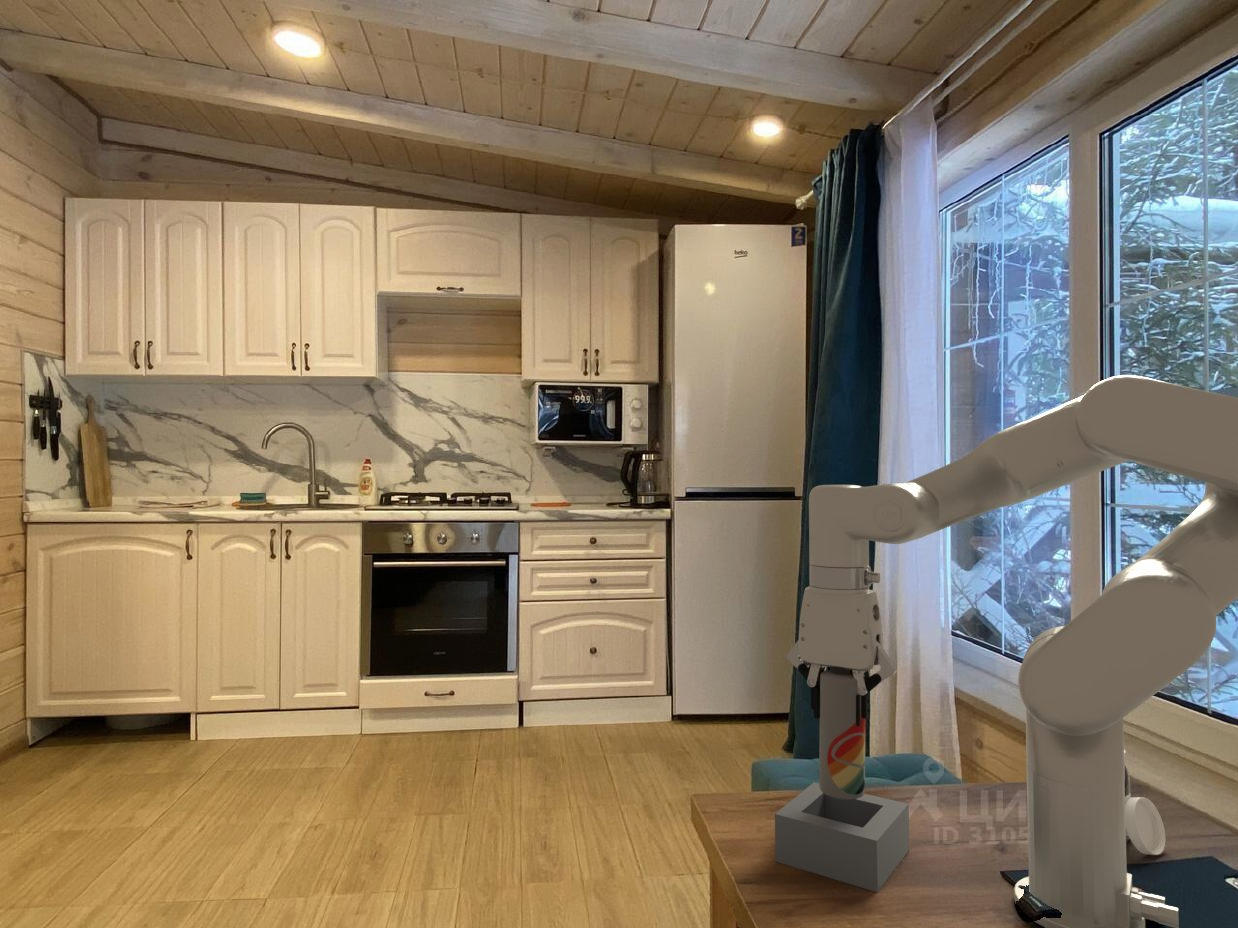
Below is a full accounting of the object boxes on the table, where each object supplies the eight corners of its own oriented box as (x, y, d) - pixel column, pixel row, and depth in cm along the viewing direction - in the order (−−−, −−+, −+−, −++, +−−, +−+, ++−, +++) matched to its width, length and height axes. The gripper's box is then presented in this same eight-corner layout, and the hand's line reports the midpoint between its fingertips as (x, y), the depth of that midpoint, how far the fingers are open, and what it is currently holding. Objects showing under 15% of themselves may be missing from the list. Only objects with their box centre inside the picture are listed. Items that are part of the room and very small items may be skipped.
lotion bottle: (867, 802, 97) (868, 642, 98) (820, 797, 98) (821, 639, 99) (862, 785, 103) (863, 633, 103) (818, 781, 104) (819, 631, 104)
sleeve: (909, 849, 102) (908, 803, 102) (877, 892, 91) (876, 840, 91) (814, 824, 109) (814, 781, 110) (775, 861, 99) (774, 813, 99)
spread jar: (1066, 813, 113) (1064, 732, 113) (1161, 830, 107) (1158, 745, 107) (1065, 846, 103) (1063, 757, 103) (1169, 867, 97) (1167, 773, 97)
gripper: (913, 580, 99) (915, 724, 99) (790, 572, 109) (791, 702, 109) (896, 587, 93) (897, 740, 93) (766, 577, 103) (767, 715, 103)
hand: (840, 718), depth 101 cm, fingers closed on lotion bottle, 4 cm apart
